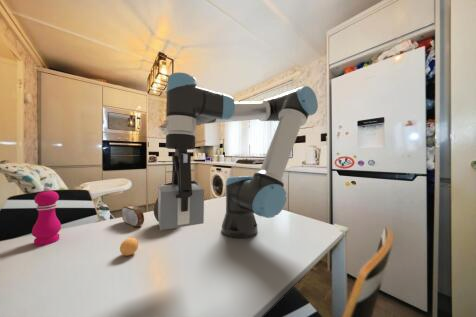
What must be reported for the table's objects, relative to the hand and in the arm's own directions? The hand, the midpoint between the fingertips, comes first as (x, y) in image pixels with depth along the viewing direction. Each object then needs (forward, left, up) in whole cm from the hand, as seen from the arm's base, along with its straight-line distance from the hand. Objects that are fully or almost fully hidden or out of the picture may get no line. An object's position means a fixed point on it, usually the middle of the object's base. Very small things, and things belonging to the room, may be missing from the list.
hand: (179, 216), depth 47 cm
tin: (+15, -44, -15) cm, 49 cm away
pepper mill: (+41, -38, -15) cm, 58 cm away
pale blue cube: (0, 0, -1) cm, 1 cm away
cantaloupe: (-1, -37, -15) cm, 40 cm away
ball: (+13, -16, -13) cm, 24 cm away
